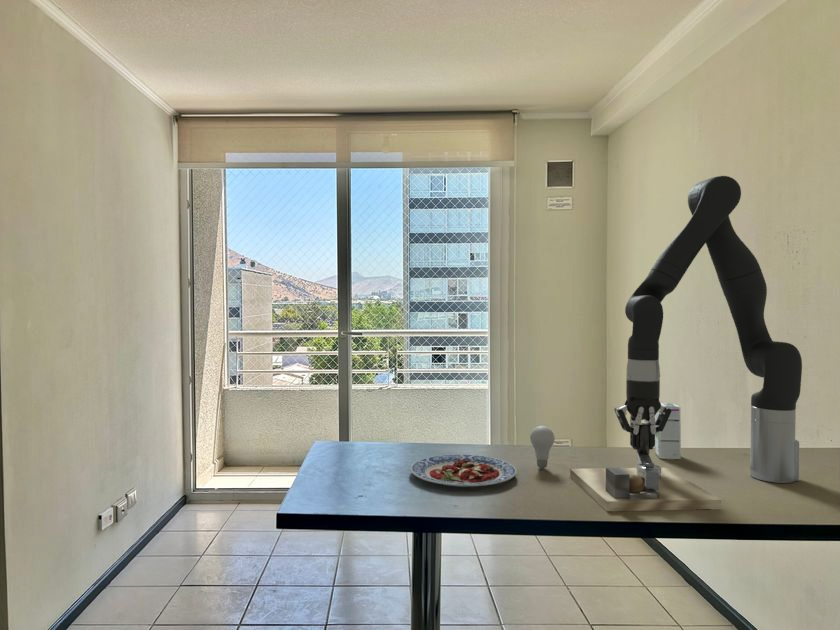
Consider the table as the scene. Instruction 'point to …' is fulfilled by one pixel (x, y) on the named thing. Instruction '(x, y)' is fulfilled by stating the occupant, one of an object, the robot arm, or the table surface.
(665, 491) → the base
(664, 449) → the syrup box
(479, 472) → the ceramic plate
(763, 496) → the table surface
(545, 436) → the lightbulb
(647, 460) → the lever
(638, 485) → the walnut
